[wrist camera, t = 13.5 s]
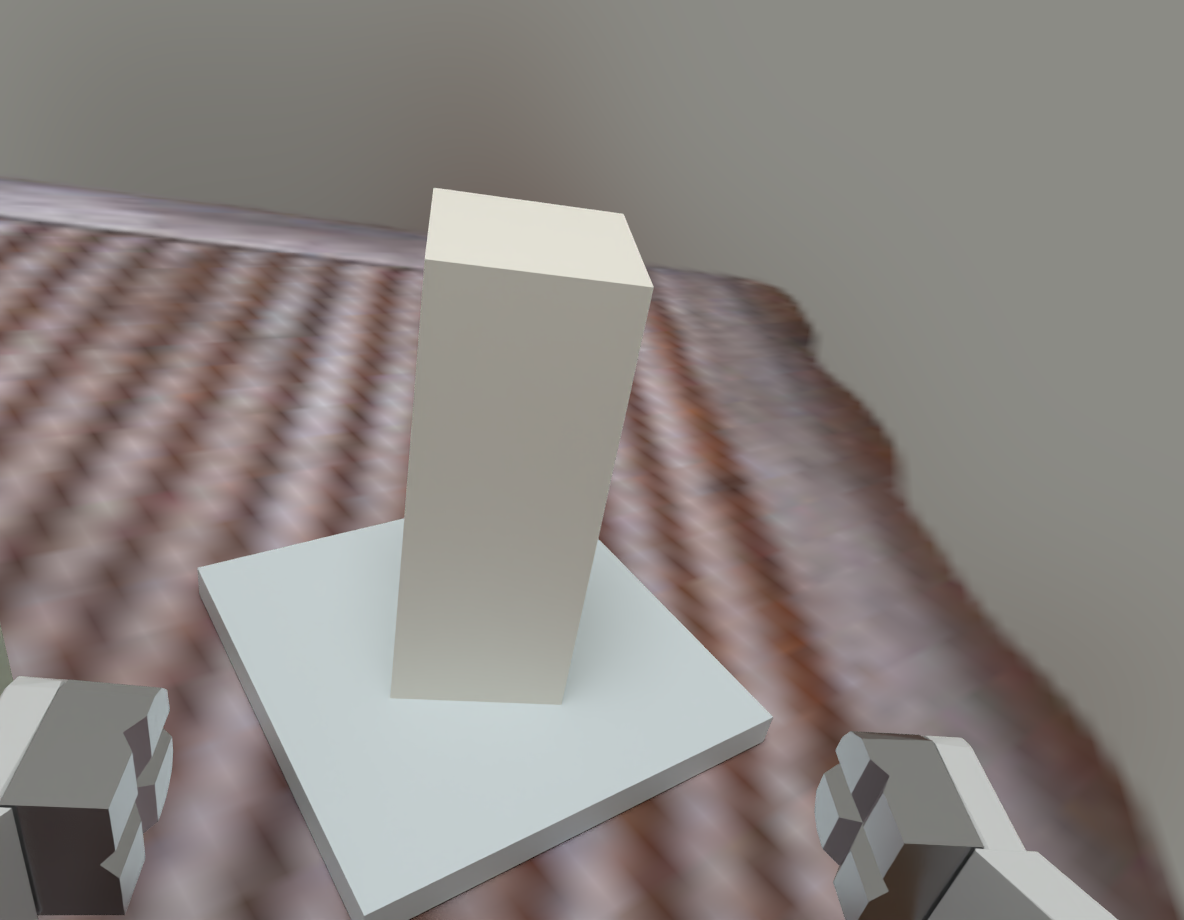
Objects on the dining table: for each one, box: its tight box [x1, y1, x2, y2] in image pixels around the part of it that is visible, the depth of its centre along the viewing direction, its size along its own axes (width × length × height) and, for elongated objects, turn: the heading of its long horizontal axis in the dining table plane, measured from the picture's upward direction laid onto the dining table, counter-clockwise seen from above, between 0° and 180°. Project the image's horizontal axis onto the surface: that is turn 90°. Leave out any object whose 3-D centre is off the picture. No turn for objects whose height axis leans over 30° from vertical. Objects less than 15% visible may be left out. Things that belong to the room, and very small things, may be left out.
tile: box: [198, 519, 773, 920], centre depth 26 cm, size 12×12×1 cm
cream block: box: [390, 188, 654, 705], centre depth 23 cm, size 4×4×12 cm
